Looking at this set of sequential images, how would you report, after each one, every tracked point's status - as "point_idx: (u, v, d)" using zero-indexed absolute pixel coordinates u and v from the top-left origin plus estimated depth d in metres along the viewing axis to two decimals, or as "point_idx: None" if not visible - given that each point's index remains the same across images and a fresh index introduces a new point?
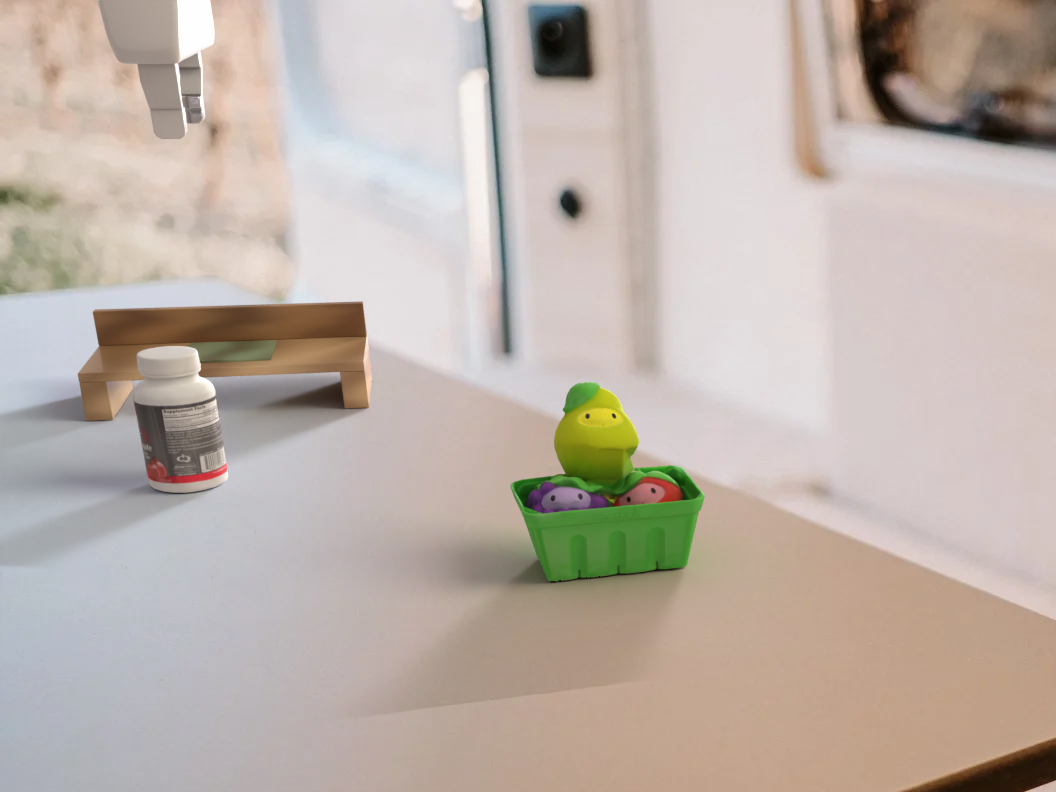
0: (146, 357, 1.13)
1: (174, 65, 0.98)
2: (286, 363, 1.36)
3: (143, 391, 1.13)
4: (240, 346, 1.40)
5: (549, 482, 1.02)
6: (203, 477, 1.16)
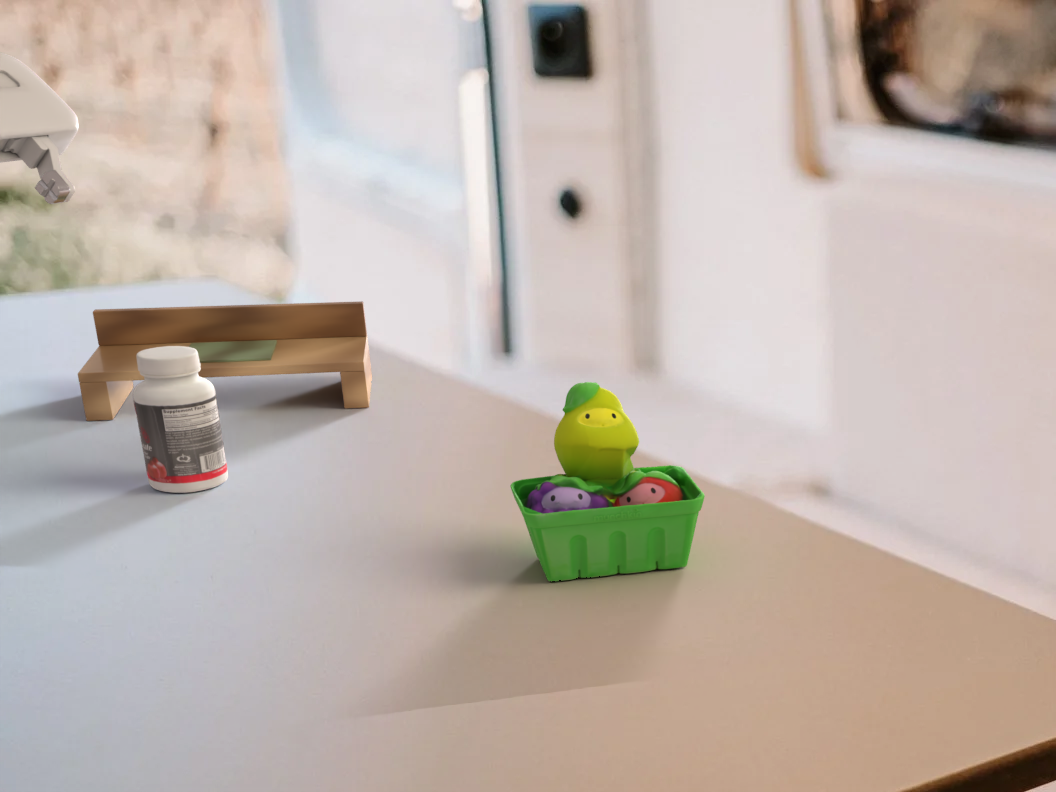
0: (146, 357, 1.13)
1: None
2: (286, 363, 1.36)
3: (143, 391, 1.13)
4: (240, 346, 1.40)
5: (549, 482, 1.02)
6: (203, 477, 1.16)
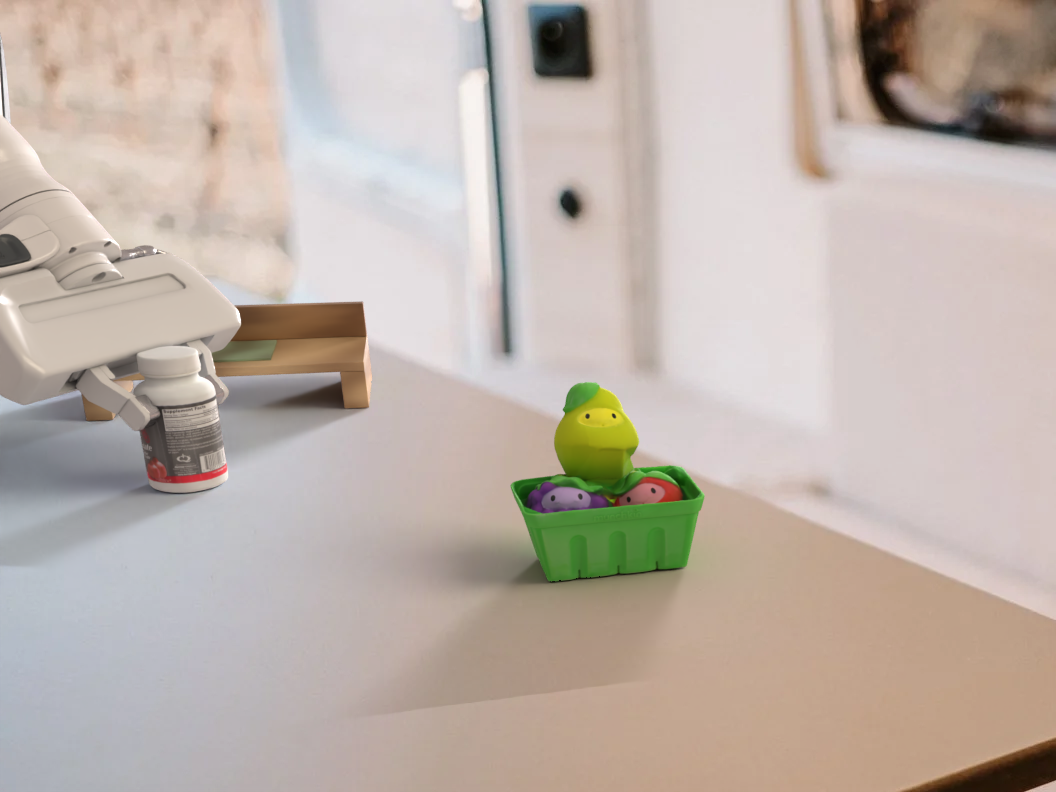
0: (146, 357, 1.13)
1: (92, 372, 1.11)
2: (286, 363, 1.36)
3: (143, 391, 1.13)
4: (240, 346, 1.40)
5: (549, 482, 1.02)
6: (203, 477, 1.16)
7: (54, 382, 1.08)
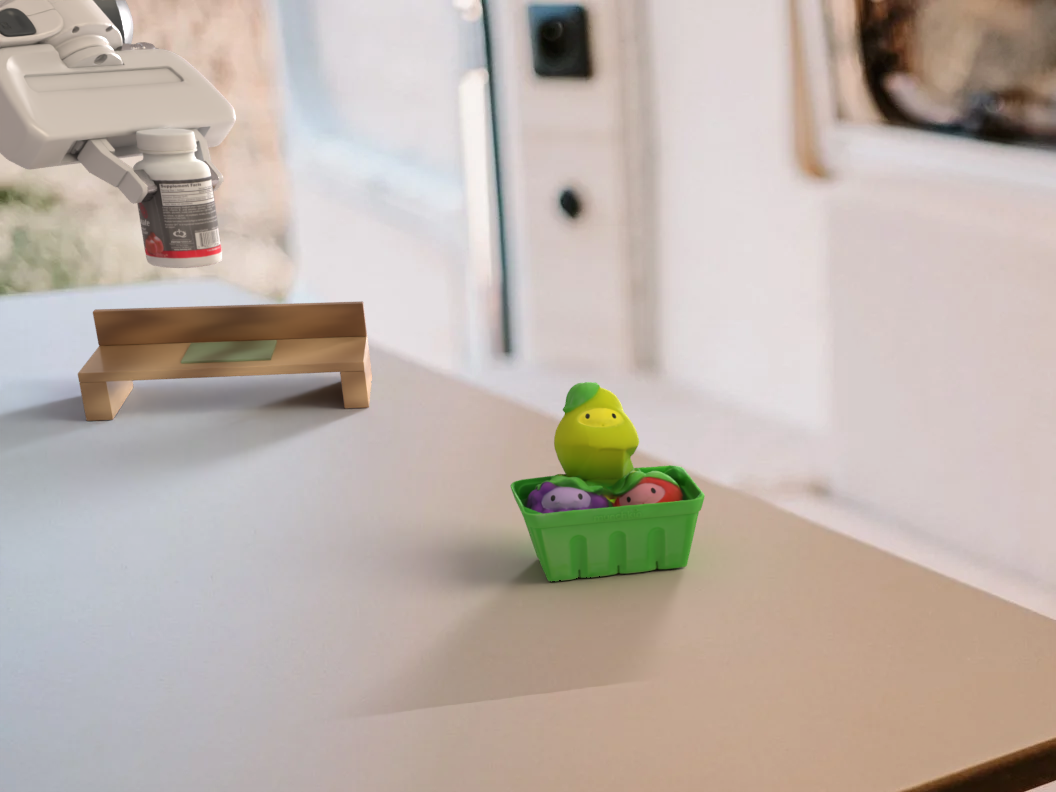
0: (145, 133, 1.19)
1: (93, 143, 1.17)
2: (286, 363, 1.36)
3: (142, 166, 1.19)
4: (240, 346, 1.40)
5: (549, 482, 1.02)
6: (198, 254, 1.22)
7: (57, 148, 1.14)
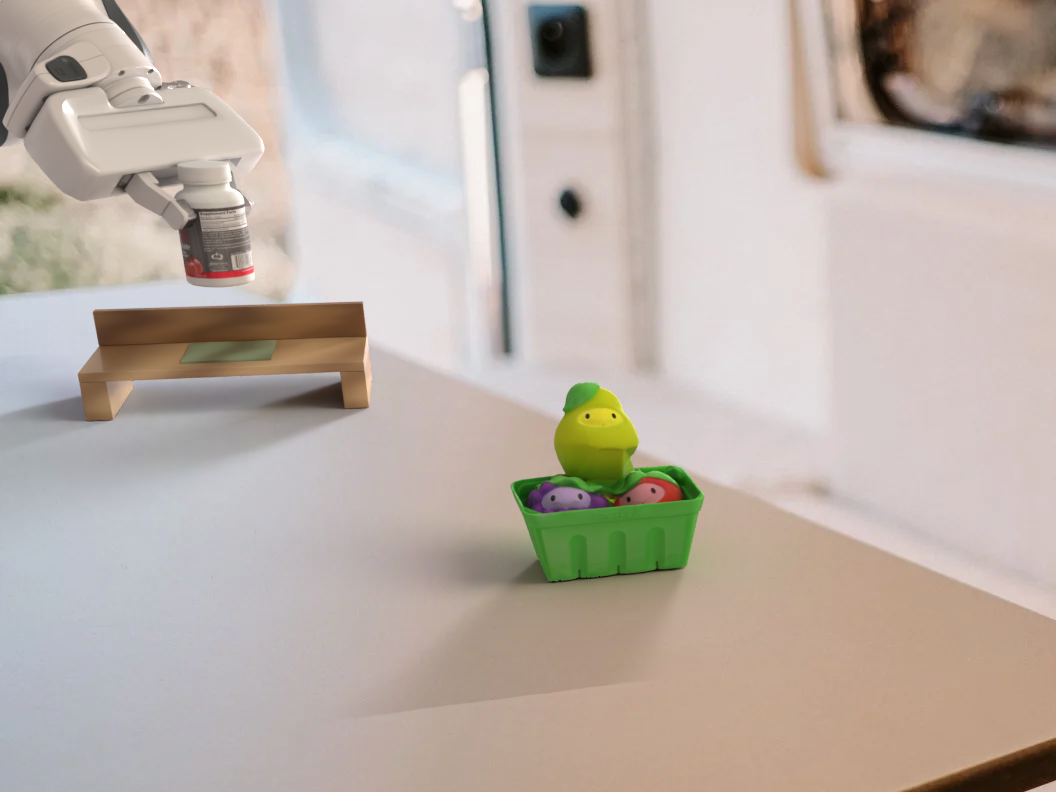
0: (185, 166, 1.31)
1: (139, 176, 1.29)
2: (286, 363, 1.36)
3: (183, 196, 1.32)
4: (240, 346, 1.40)
5: (549, 482, 1.02)
6: (234, 274, 1.35)
7: (107, 182, 1.27)
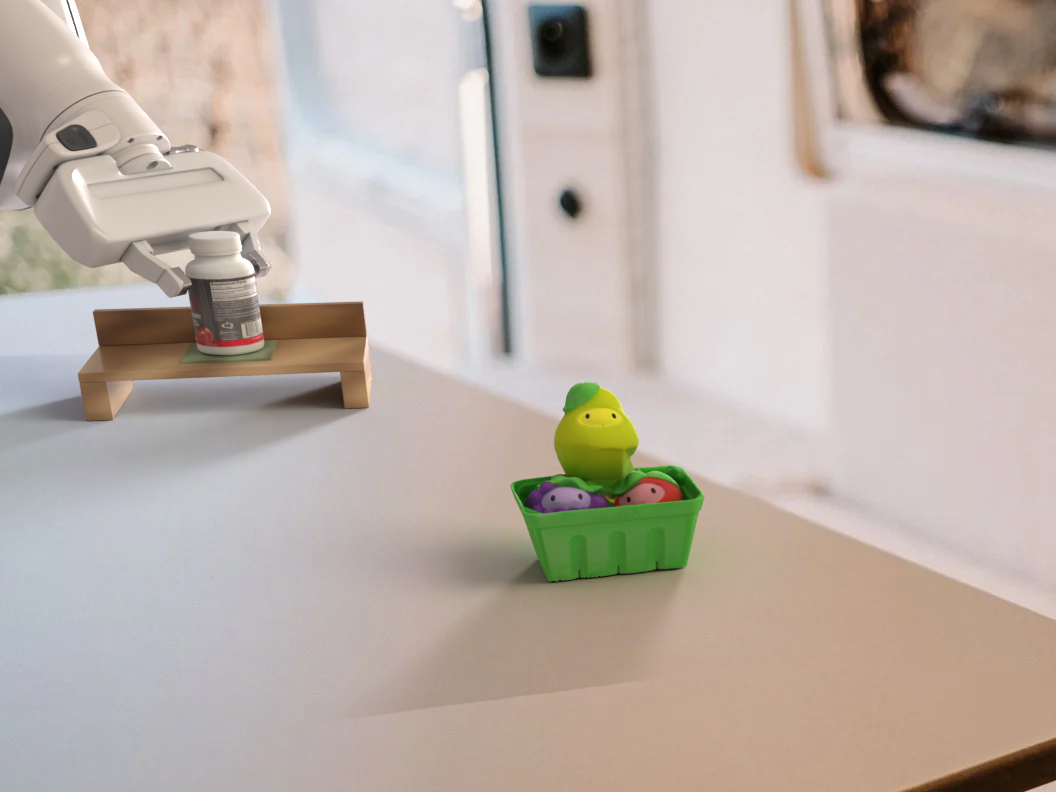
0: (196, 237, 1.34)
1: (134, 245, 1.30)
2: (286, 363, 1.36)
3: (194, 266, 1.34)
4: None
5: (549, 482, 1.02)
6: (244, 342, 1.37)
7: (116, 249, 1.29)
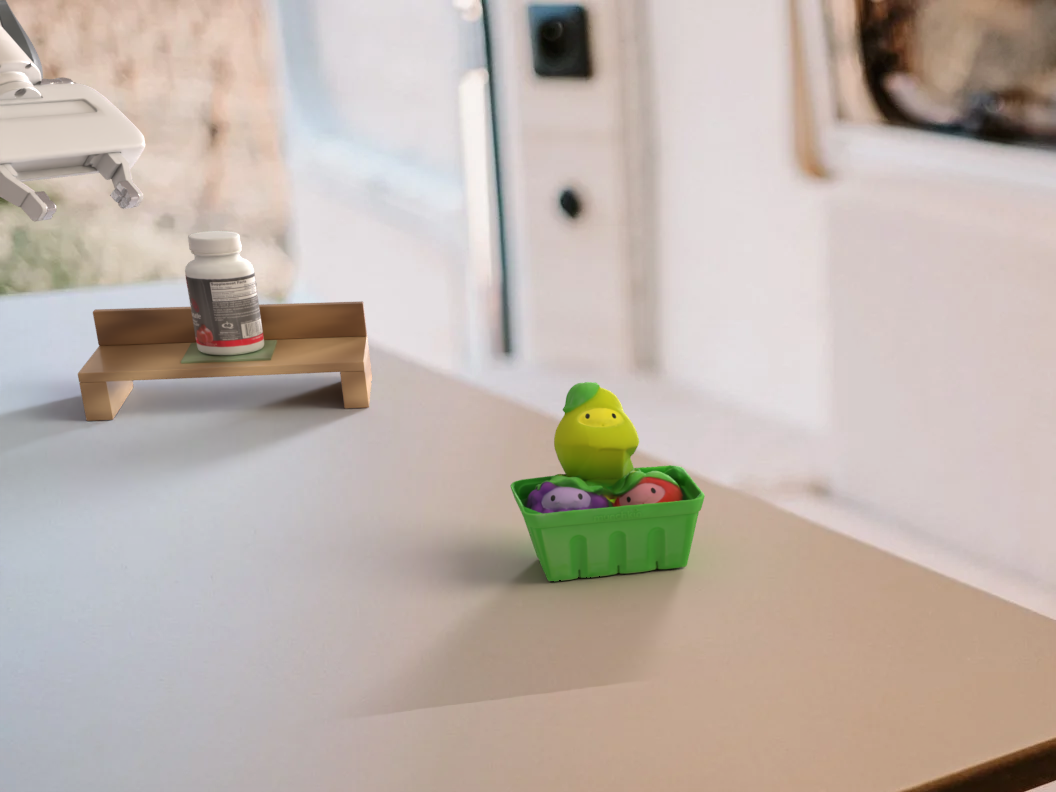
0: (196, 237, 1.34)
1: None
2: (286, 363, 1.36)
3: (194, 266, 1.34)
4: None
5: (549, 482, 1.02)
6: (244, 342, 1.37)
7: None
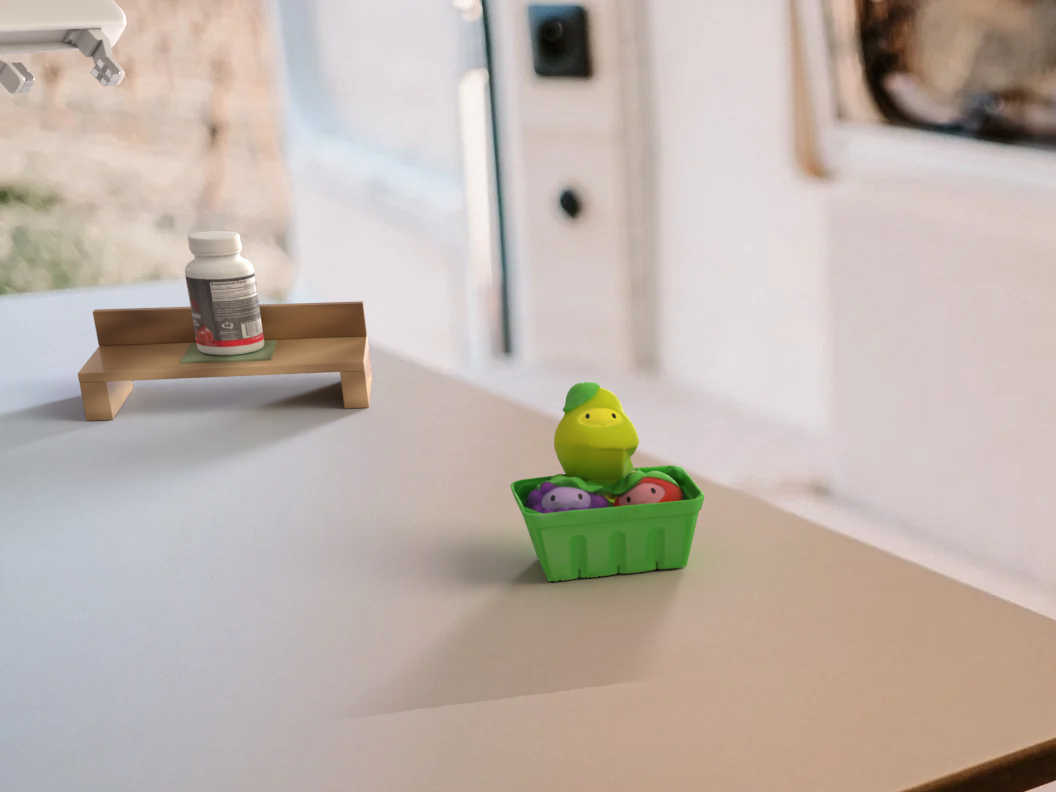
0: (196, 237, 1.34)
1: None
2: (286, 363, 1.36)
3: (194, 266, 1.34)
4: None
5: (549, 482, 1.02)
6: (244, 342, 1.37)
7: None
